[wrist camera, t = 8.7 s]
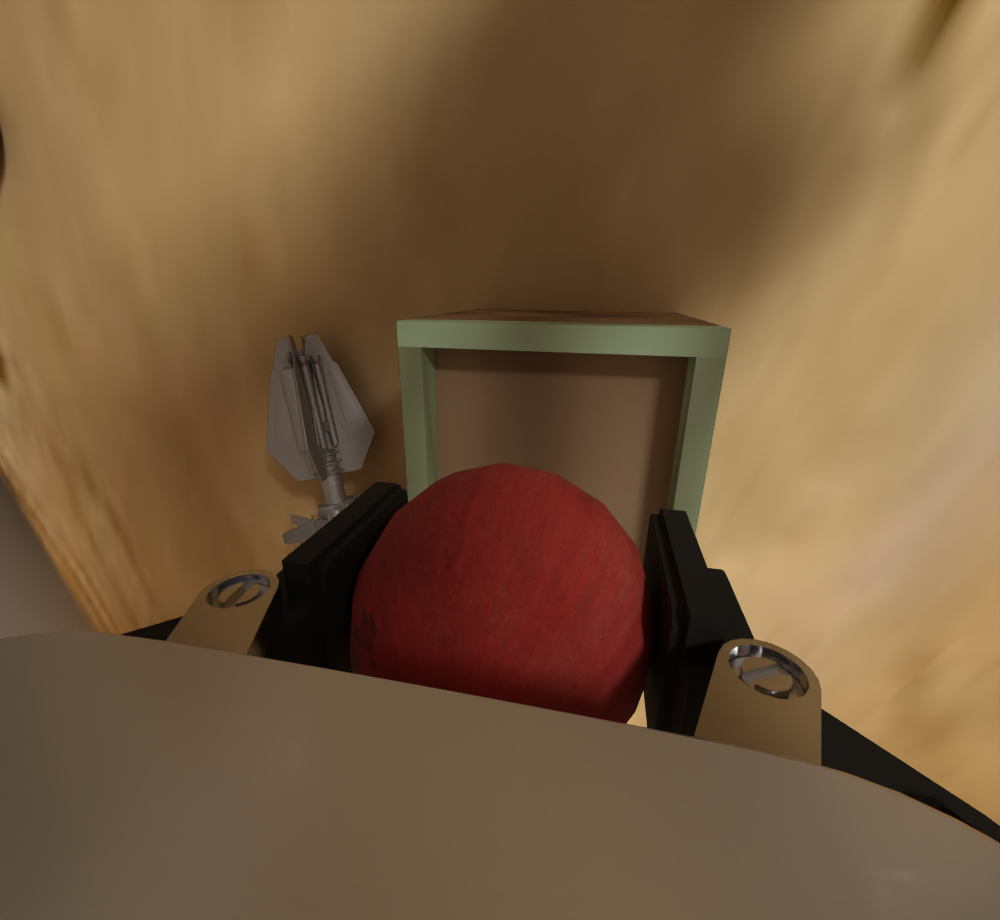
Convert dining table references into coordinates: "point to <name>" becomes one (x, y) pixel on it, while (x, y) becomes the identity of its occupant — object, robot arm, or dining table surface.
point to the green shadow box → (567, 402)
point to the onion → (507, 596)
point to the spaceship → (315, 426)
